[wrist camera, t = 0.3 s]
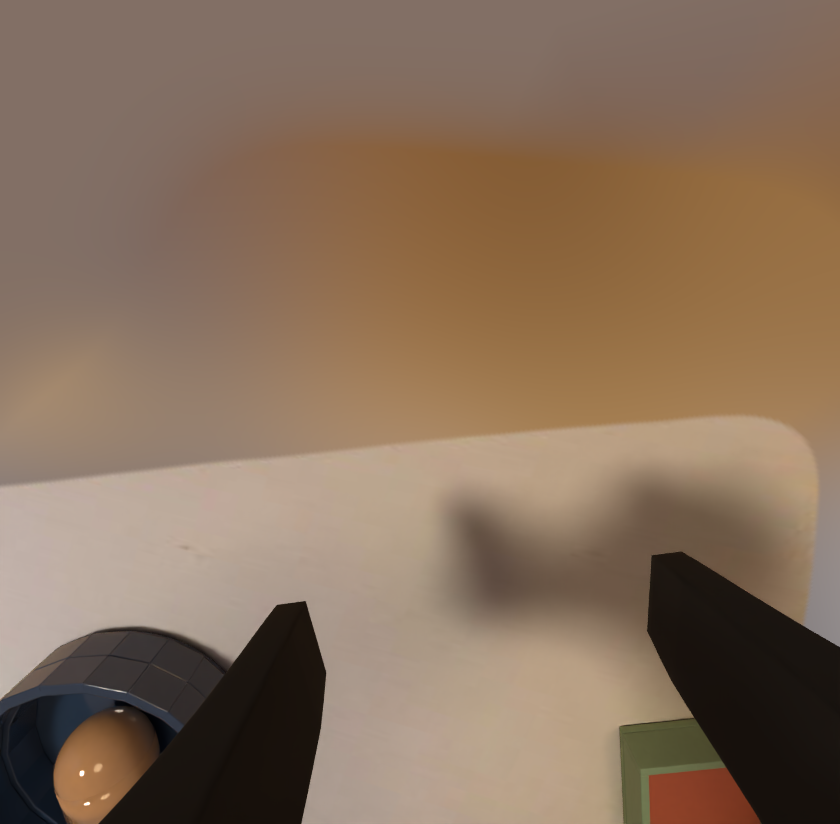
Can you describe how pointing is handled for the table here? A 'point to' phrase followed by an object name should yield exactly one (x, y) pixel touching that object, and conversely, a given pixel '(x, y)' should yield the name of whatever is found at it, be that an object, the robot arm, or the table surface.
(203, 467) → the table surface
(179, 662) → the basin
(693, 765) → the green square tray
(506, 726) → the table surface
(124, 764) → the egg
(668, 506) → the table surface
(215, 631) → the table surface
